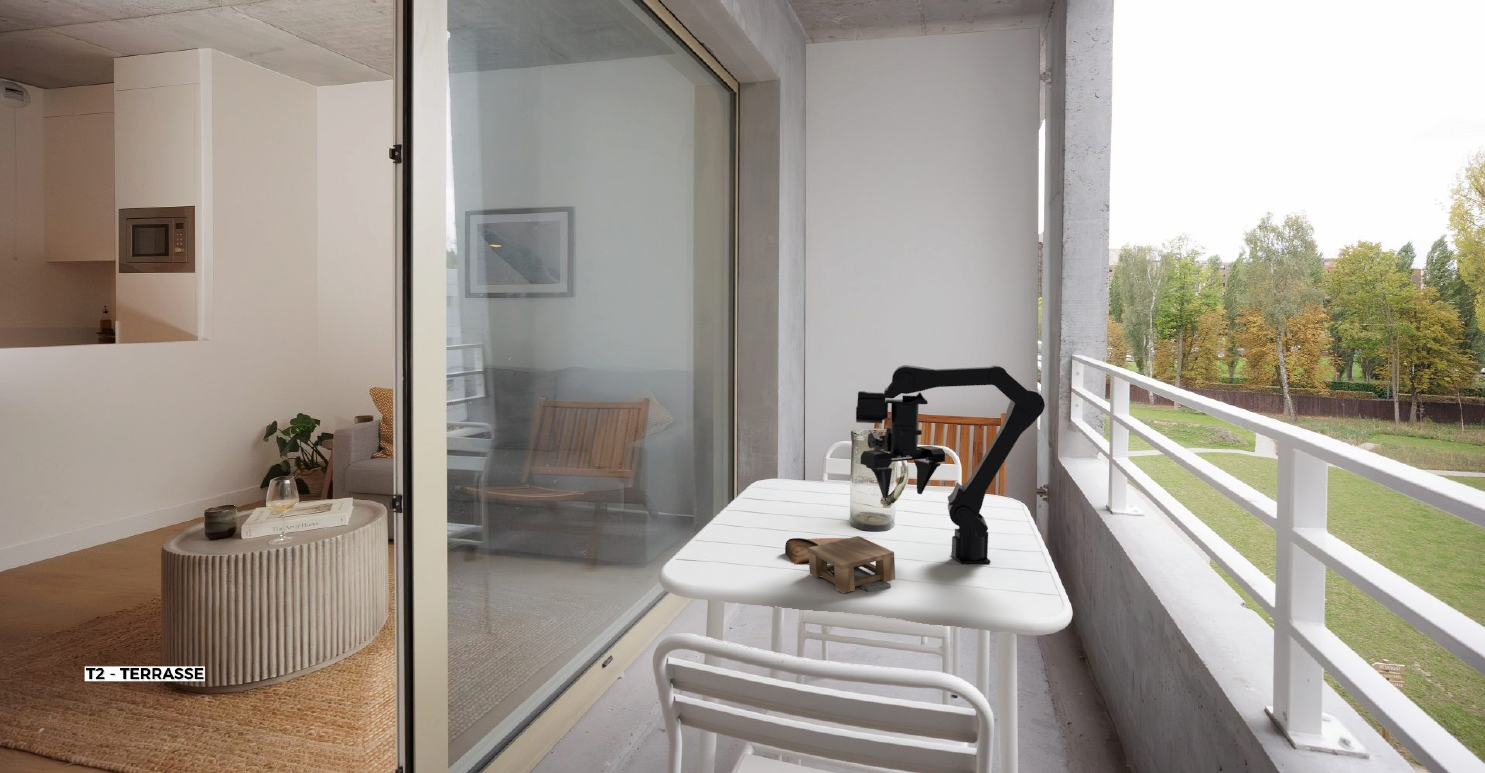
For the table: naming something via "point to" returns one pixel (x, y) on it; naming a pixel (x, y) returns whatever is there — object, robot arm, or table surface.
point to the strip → (872, 585)
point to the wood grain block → (851, 562)
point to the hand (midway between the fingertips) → (902, 495)
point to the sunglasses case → (804, 548)
